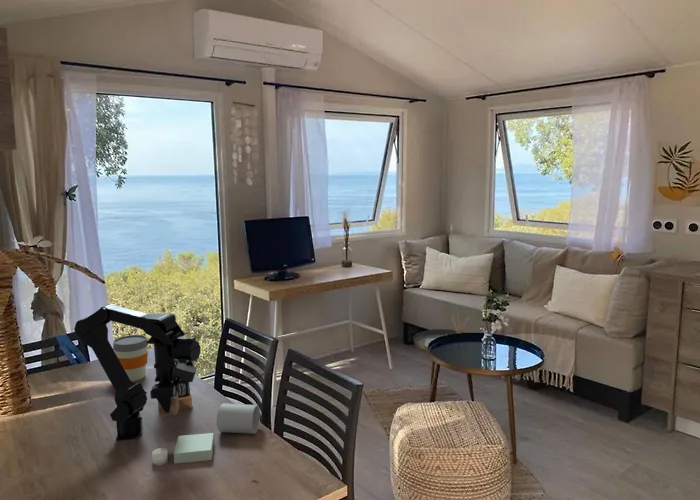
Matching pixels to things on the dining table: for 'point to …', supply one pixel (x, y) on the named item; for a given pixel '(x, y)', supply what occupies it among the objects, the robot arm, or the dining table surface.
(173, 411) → the walnut cube
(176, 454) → the base slab
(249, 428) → the mug
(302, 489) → the dining table surface
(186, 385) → the whiskey bottle
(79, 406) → the dining table surface
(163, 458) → the cream tealight
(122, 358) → the reusable coffee cup
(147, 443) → the dining table surface
